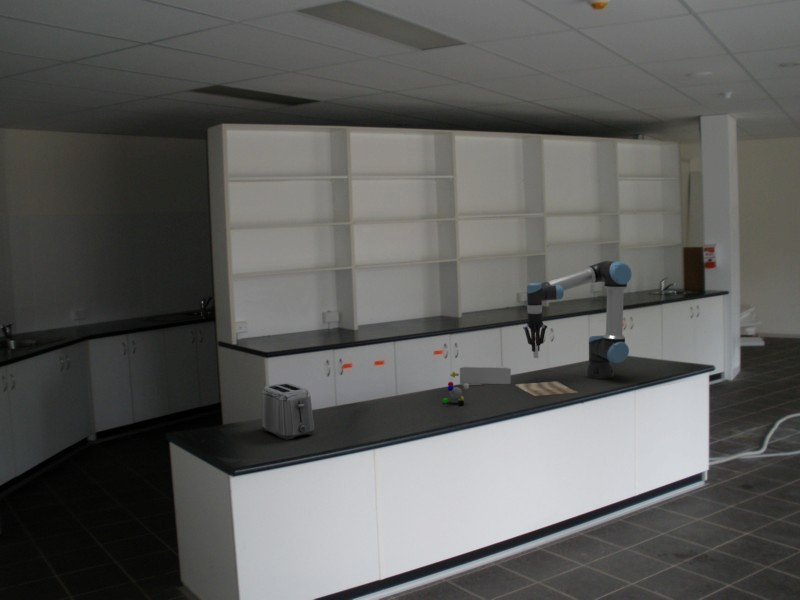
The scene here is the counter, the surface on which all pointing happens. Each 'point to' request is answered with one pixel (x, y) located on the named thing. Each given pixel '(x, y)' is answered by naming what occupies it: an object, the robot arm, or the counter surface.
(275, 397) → the toaster
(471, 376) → the decorative sign
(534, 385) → the plank
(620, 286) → the robot arm
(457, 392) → the molecular model
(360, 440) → the counter surface
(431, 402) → the counter surface
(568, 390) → the floor strip
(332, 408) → the counter surface
